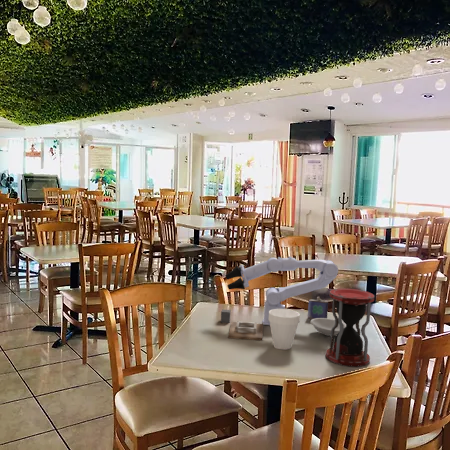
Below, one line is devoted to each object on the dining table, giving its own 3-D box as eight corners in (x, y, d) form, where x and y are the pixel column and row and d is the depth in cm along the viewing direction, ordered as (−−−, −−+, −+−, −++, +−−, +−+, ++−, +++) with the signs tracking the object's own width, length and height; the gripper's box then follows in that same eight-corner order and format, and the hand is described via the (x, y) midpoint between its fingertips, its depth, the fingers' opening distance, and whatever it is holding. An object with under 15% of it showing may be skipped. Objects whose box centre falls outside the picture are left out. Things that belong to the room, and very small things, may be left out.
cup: (273, 353, 182) (275, 318, 181) (262, 342, 194) (264, 309, 193) (303, 351, 186) (305, 316, 184) (290, 340, 198) (292, 308, 196)
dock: (262, 326, 215) (263, 319, 215) (262, 340, 196) (262, 333, 196) (231, 324, 216) (231, 317, 216) (228, 338, 197) (228, 330, 197)
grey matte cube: (230, 320, 222) (230, 309, 221) (229, 323, 218) (230, 312, 217) (221, 319, 222) (222, 309, 221) (220, 322, 218) (221, 311, 217)
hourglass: (316, 357, 180) (321, 291, 178) (340, 347, 191) (344, 286, 189) (355, 370, 169) (360, 301, 166) (377, 359, 180) (382, 294, 178)
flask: (307, 318, 230) (308, 296, 229) (307, 316, 233) (309, 295, 232) (327, 320, 228) (328, 298, 227) (327, 318, 231) (328, 297, 230)
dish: (354, 340, 201) (355, 329, 200) (324, 343, 195) (325, 331, 195) (330, 327, 217) (331, 316, 217) (302, 330, 212) (303, 319, 211)
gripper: (249, 256, 222) (222, 266, 224) (254, 274, 210) (225, 285, 211) (254, 267, 226) (227, 277, 227) (259, 286, 214) (231, 297, 215)
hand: (227, 282), depth 219 cm, fingers open, 7 cm apart
